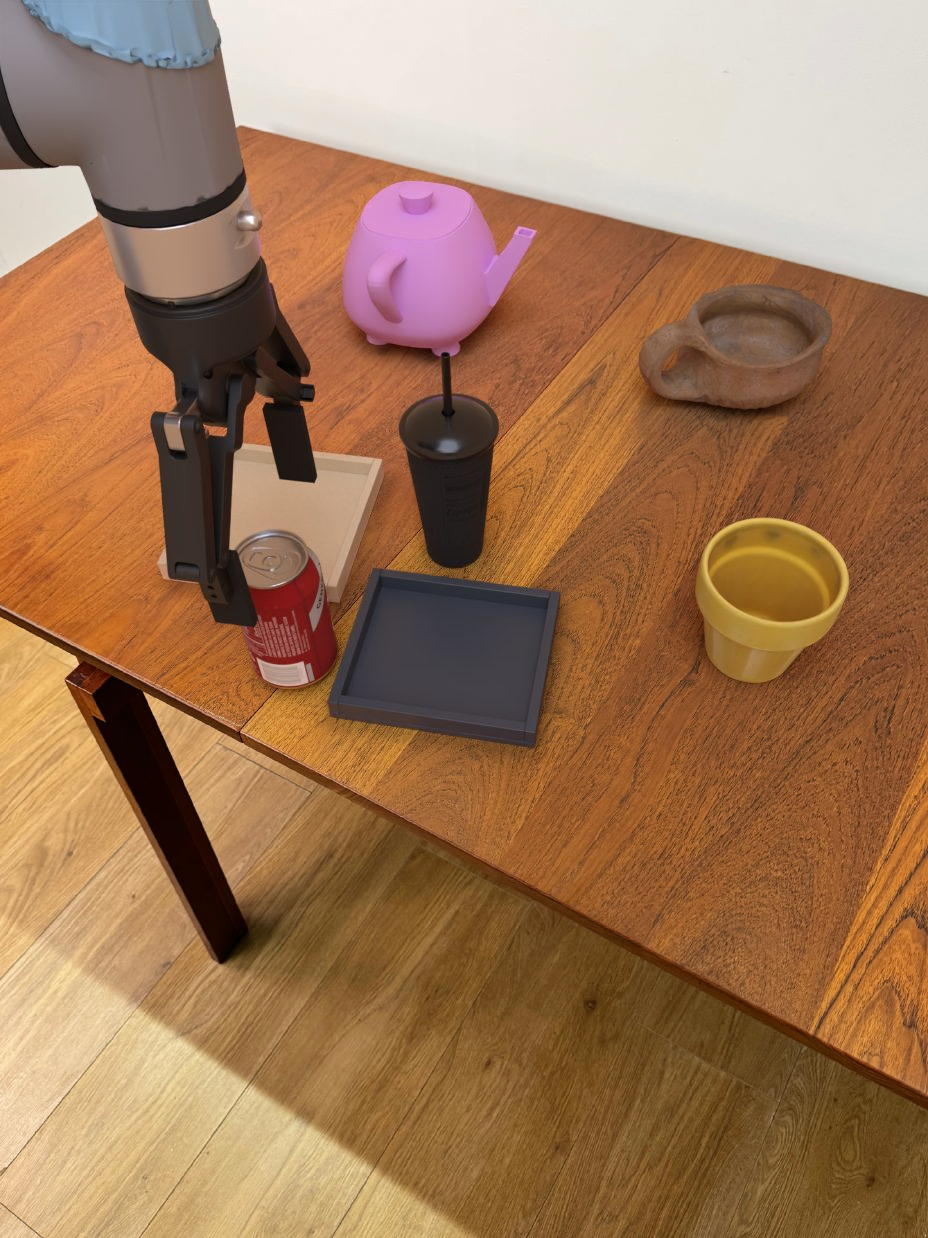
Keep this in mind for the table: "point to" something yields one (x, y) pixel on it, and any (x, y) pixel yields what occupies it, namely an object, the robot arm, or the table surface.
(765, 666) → the flower pot
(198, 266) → the robot arm
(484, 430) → the drinking cup
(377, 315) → the teapot
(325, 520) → the cup tray
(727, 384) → the bowl
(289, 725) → the table surface
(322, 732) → the table surface
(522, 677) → the can tray
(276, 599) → the soda can
